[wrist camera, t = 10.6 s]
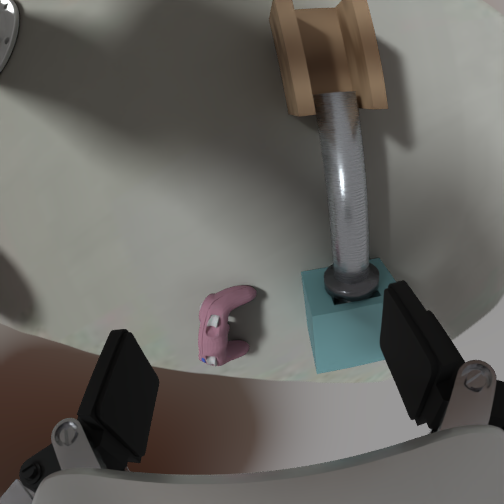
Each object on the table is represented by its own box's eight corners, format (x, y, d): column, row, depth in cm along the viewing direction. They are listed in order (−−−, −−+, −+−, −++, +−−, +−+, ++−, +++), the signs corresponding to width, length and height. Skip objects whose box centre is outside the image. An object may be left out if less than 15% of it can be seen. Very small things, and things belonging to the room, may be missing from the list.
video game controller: (224, 272, 35) (187, 301, 30) (260, 285, 34) (227, 319, 28) (220, 336, 40) (190, 368, 34) (251, 349, 38) (223, 385, 32)
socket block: (301, 271, 33) (312, 316, 26) (379, 257, 32) (406, 297, 26) (307, 326, 37) (317, 373, 30) (377, 313, 36) (397, 356, 29)
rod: (295, 97, 24) (306, 95, 19) (355, 91, 23) (378, 89, 18) (324, 331, 35) (332, 364, 30) (367, 323, 34) (381, 354, 30)
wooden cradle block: (269, 19, 22) (273, -5, 16) (341, 14, 21) (364, -8, 15) (288, 114, 26) (299, 116, 20) (359, 106, 25) (388, 108, 19)
